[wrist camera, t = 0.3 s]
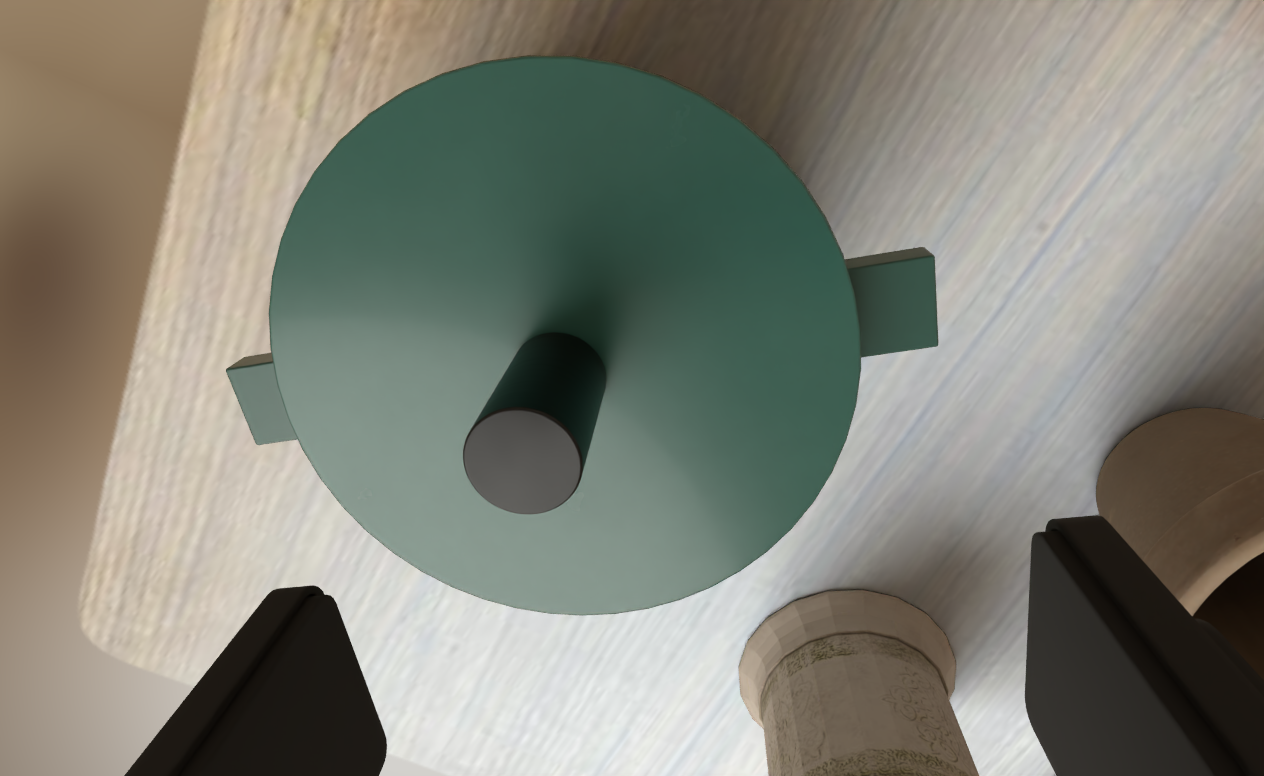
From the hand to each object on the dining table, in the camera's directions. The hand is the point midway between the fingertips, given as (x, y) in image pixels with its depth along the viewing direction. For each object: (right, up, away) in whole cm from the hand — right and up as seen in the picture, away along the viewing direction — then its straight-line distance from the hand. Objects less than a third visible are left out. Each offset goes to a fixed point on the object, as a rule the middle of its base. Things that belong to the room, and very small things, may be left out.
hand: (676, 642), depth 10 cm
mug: (+11, -11, +26) cm, 31 cm away
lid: (-2, +4, +10) cm, 11 cm away
